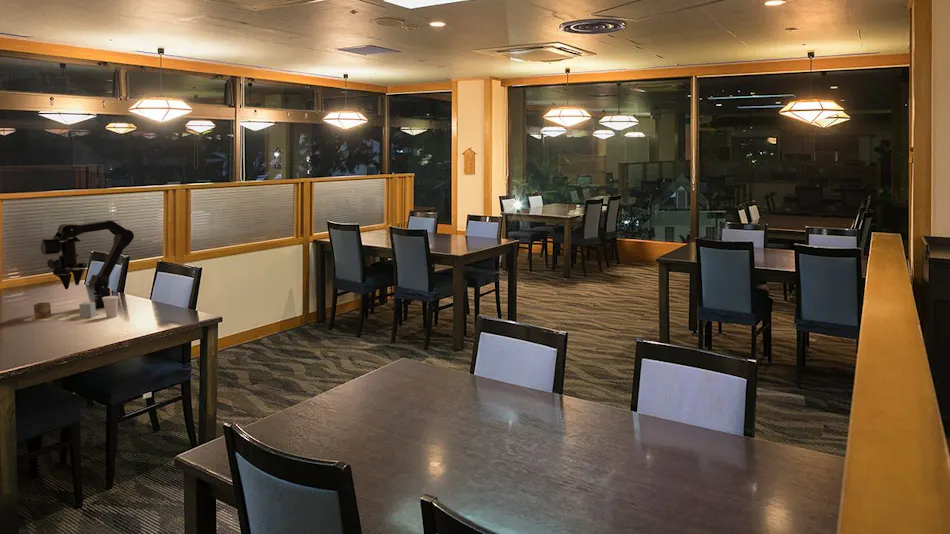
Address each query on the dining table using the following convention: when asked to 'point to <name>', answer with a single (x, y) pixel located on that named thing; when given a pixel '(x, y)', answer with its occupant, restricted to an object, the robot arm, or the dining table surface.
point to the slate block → (87, 310)
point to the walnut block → (42, 310)
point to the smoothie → (110, 305)
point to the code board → (59, 317)
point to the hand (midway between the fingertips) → (71, 287)
